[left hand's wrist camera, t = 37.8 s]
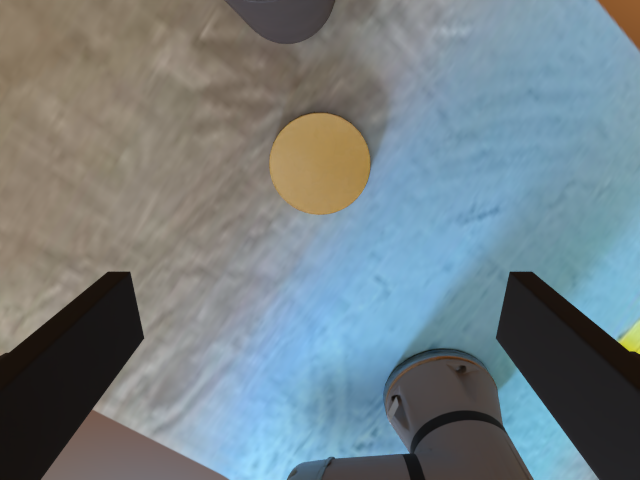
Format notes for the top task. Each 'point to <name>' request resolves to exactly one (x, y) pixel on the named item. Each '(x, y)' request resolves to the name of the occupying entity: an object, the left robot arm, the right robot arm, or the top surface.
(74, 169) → the top surface
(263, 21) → the jar
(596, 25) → the top surface
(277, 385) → the top surface
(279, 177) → the lid
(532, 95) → the top surface
